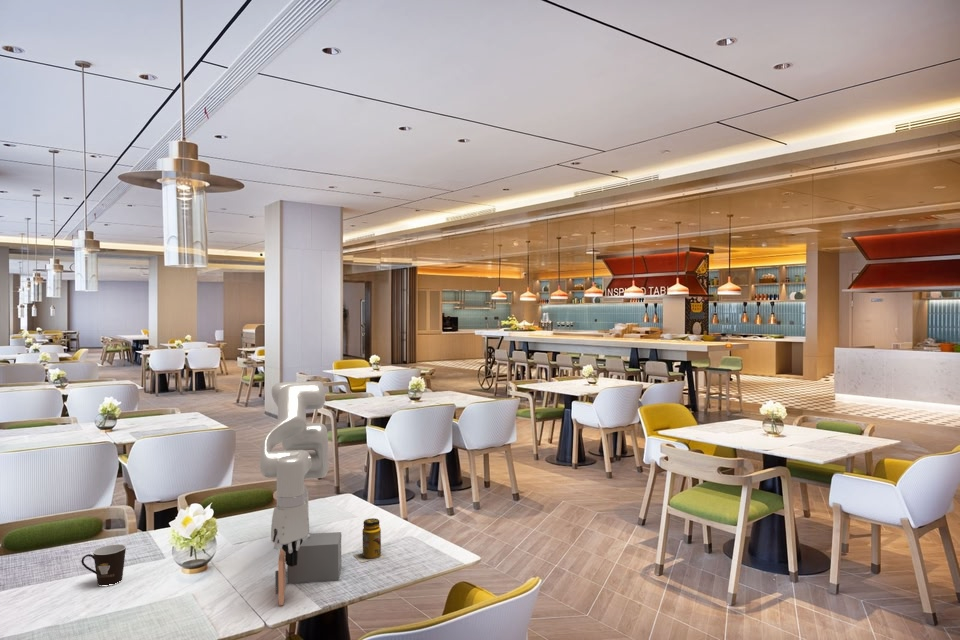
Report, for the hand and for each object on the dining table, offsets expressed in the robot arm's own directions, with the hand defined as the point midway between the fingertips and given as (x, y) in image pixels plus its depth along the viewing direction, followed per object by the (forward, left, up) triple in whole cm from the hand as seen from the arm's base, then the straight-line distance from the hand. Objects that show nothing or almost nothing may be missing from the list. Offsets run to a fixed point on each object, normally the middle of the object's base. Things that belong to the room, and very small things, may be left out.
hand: (291, 564), depth 176 cm
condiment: (-29, +21, -10) cm, 37 cm away
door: (-3, -4, -9) cm, 10 cm away
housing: (-16, +5, -10) cm, 20 cm away
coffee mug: (-22, -58, -10) cm, 63 cm away
